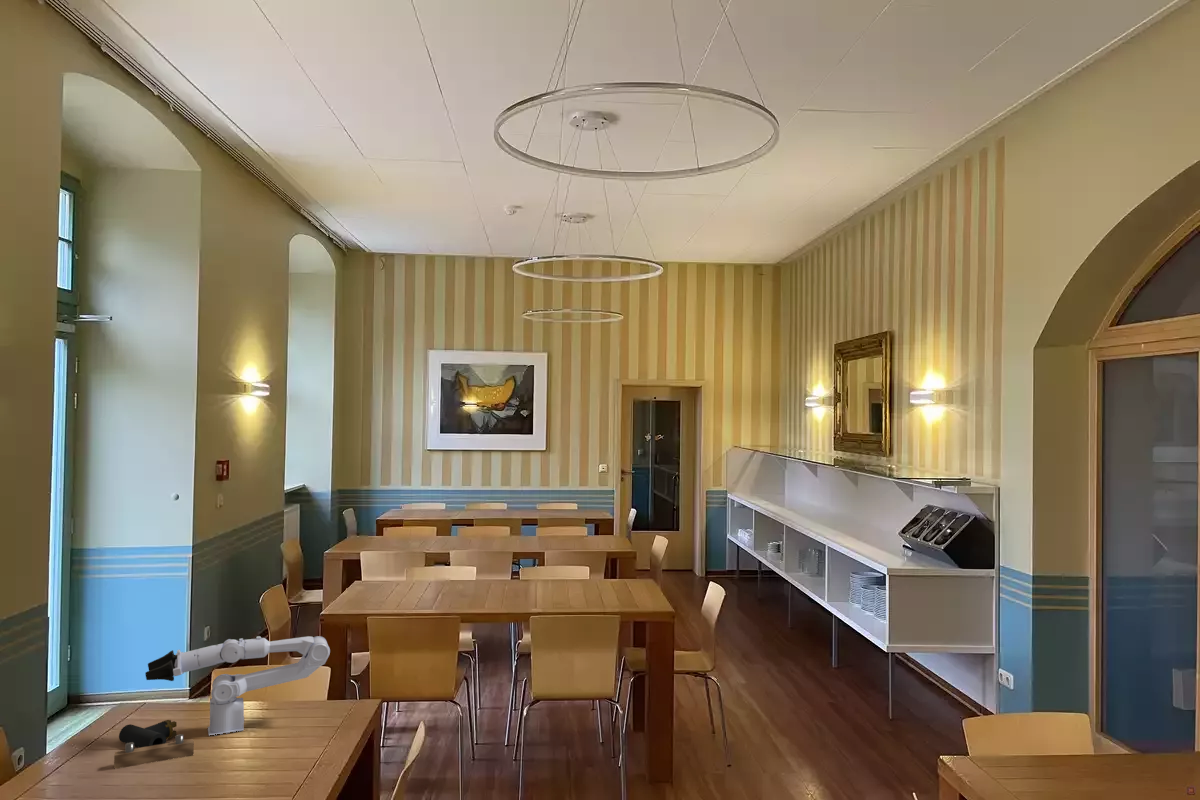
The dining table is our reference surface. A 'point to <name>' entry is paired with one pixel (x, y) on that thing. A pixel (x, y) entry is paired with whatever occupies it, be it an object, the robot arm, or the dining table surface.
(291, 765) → the dining table surface
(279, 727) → the dining table surface
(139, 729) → the pipe connector
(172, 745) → the bar
